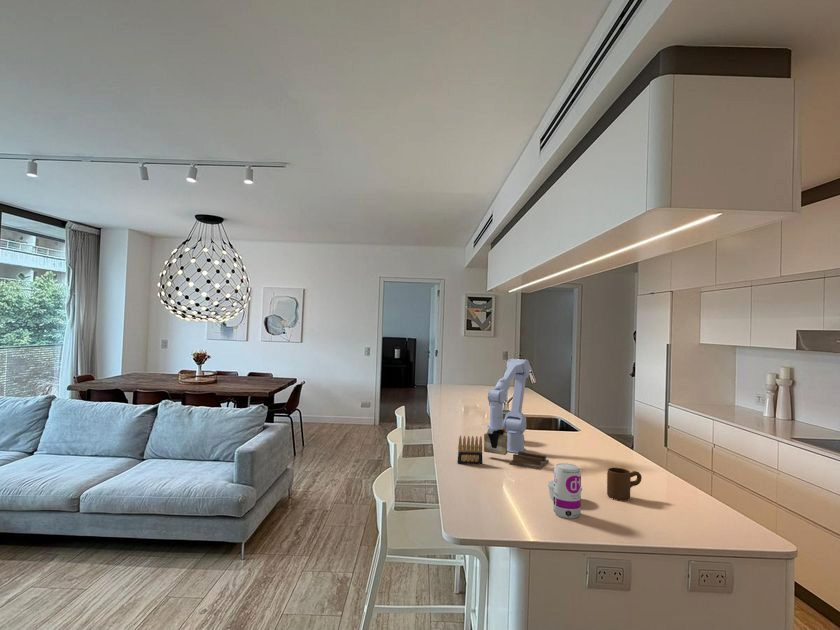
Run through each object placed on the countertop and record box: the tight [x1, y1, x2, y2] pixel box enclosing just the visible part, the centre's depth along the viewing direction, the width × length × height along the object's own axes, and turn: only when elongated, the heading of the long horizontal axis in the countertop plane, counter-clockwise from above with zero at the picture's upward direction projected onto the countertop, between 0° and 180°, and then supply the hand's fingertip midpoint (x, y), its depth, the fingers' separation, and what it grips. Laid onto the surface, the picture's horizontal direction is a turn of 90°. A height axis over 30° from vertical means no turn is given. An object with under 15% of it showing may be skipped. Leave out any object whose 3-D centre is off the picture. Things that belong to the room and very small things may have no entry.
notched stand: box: [509, 451, 550, 470], centre depth 211 cm, size 14×13×4 cm
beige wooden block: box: [483, 432, 508, 456], centre depth 218 cm, size 3×10×8 cm, turn 59°
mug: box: [606, 467, 643, 501], centre depth 170 cm, size 12×8×9 cm, turn 94°
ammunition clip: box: [457, 435, 484, 465], centre depth 209 cm, size 11×2×12 cm, turn 90°
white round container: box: [547, 479, 583, 502], centre depth 166 cm, size 11×11×5 cm
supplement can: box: [552, 462, 582, 520], centre depth 153 cm, size 8×8×15 cm
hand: (495, 447), depth 218 cm, fingers closed on beige wooden block, 3 cm apart
